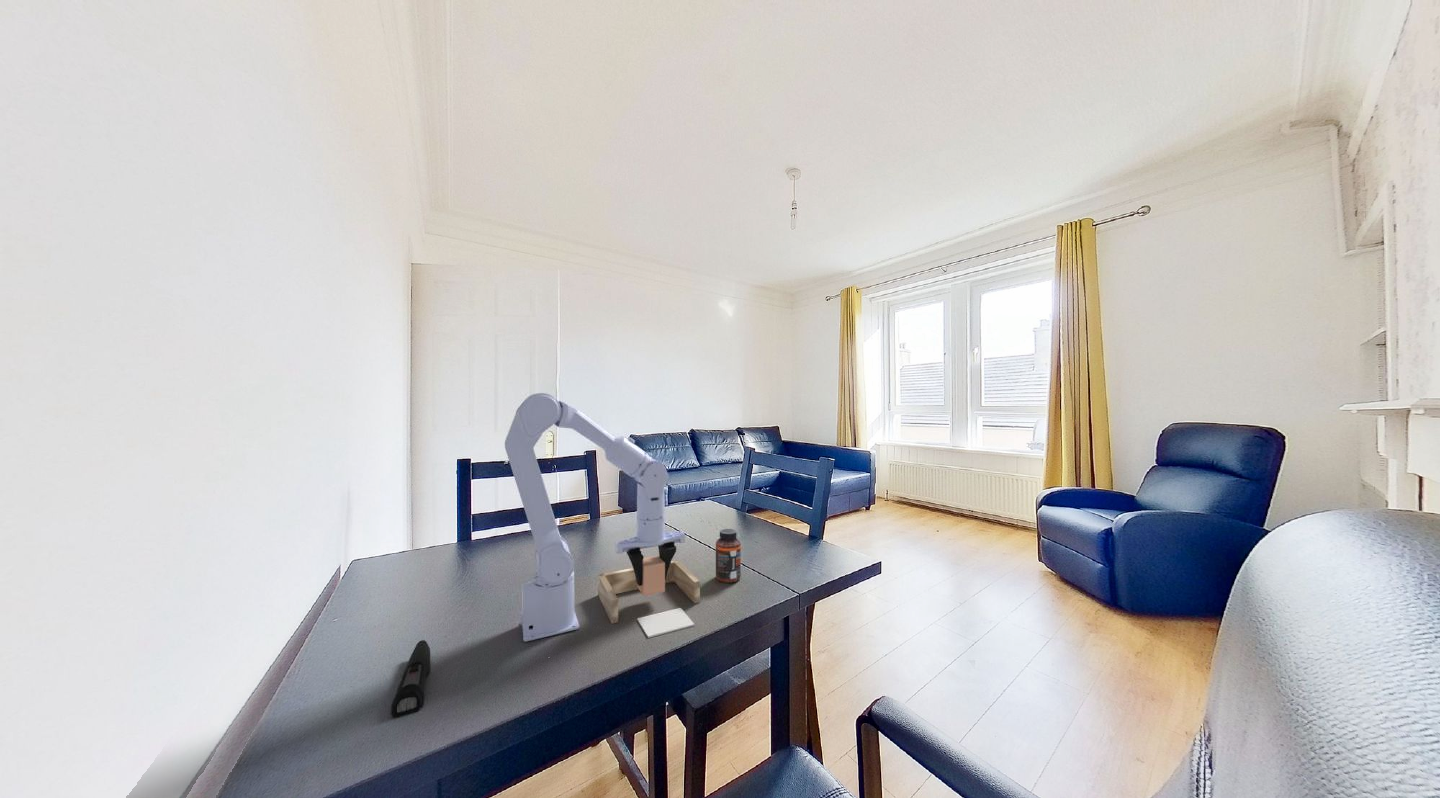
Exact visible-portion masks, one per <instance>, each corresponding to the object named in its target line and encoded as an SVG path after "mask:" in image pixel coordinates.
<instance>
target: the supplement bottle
mask: <svg viewBox="0 0 1440 798" xmlns="http://www.w3.org/2000/svg"><path fill="white" fill-rule="evenodd" d="M741 549H742V548H741V541H740V539H738V538H737V530H735V529H732V528H724V529H720V530H719V538H718V539H716V541H715V578H716V580H717V581H718V582H721V583H725V584H726V583H727V584H728V583H731V584H732V583H736V582H738V581H739V580H740V579H741V577H742V576H741V575H742V574H741V573H742V571H741V569H742V567H741V566H742V565H741V564H742V563H741V557H742V556H741V555H742V554H741V553H742V552H741Z"/></svg>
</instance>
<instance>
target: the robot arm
mask: <svg viewBox="0 0 1440 798" xmlns="http://www.w3.org/2000/svg"><path fill="white" fill-rule="evenodd" d="M553 425H554V426H556V427H557V428H563V429H572V430H574V431H575V432H576V433H578V434H580V435H581V436H583V437H584V438H586V439H587V440H589V441H590V442H592V443H594V444H595V445H597V447H600V448H601V449H602V450H604V452H605V453H604V454H605V460H607V462H609V463H611V464H612V465H613V466H615V467H616V468H618V469H619V470H620V471H622V472H623V473H625V474H626V475H628V476H629V477H631V478H632V477H633V479H634V480H635V482H637V487H636V491H637V494H636V536H632V537H629V538H626V539H623V540H619V541H617V540H616V541H614V544H615V545H614V546H615V548H614V549H615V553H616V554H617V555H621V554H623V553H624V552H625V553H626V554H627V556H628V558H629V561H630V563H631V565H632V568H633V569H634V572H635V577H636V583H637V584H638V585H639V586H642V582H643V577H642V566H643V558H645V557H644V555H643V554H642V549H647V548H648V549H649V548H654V547H657V548H658V556H659V557H660V558H661V559H662V560H663V561H664V562H665V580H666V577H667V572H668V569H669V565H670V563H671V561H672V560H673V558H674V556H675V554H676V553H677V546H676V545H675V544H677V543H679V544H684V543H686V534H685V533H684V532H683V531H681V530H680V531H670V532H669V531H667V532H666V529H665V528H666V526H665V524H666V523H665V522H666V521H665V519H666V517H665V516H666V515H665V514H666V512H665V509H666V508H665V507H666V506H665V501H666V499H665V495H666V494H665V485H666V484H667V483H668V480H669V477H670V474H669V473H668V470H667V469H666V466H665V465H664V463H663V462H661V461H658V460H656V459H654V458H653V453H651V452H649V451H647V452H646V451H644V450H643V449H642V448H641V447H639V446H638V445H636V444H635V443H636V441H635V440H634V439H633V438H632V437H626V436H623V435H622V436H617V437H614V436H613V435H611V434H610V433H609V432H607V430H605V429H604V428H602V427H601V426H600V425H598V424H597V423H596V422H594V421H593V420H592V419H591V418H589V417H588V416H587V415H585V414H584V413H583V412H581V411H580V410H579V409H577V408H575V407H573V406H572V405H569V404H568V403H566V402H564V401H561V400H558V399H557V398H556V397H555V396H554V395H552V394H549V393H547V392H538V393H537V392H536V393H533V394H531V395H529V396H527V397H526V398H525V399H524V400H523V402H522V403H521V404H520V405H519V406H518V407H517V409H516V410H515V414H514V416H513V420H512V422H511V424H510V427H509V430H508V433H507V435H506V437H505V441H504V449H505V453H506V455H507V459H508V463H509V464H510V467H511V472H512V475H513V477H514V481H515V485H516V486H517V490H518V493H519V496H520V499H521V502H522V506H523V509H524V513H525V515H526V518H527V519H526V520H527V521H528V525H529V528H530V532H531V534H532V538H533V542H534V545H535V552H534V558H535V560H536V561H535V562H536V565H537V568H536V569H537V572H535V575H534V576H533V579H532V580H529V581H527V582H524V583H521V614H520V621H519V622H520V626H521V627H522V636H523V637H522V639H523V642H529V641H534V640H538V639H542V638H546V637H550V636H551V637H552V636H554V635H559V634H563V633H564V634H565V633H567V632H571V631H575V630H578V629H580V624H579V620H578V618H577V614H576V611H575V571H574V570H575V560H574V558H573V557H574V556H573V555H572V554H571V552H570V546H569V544H568V542H567V541H566V539H565V538H563V537H562V536H561V533H560V531H559V527H558V524H557V521H556V517H555V515H554V510H553V509H552V505H551V502H550V498H549V494H548V491H547V489H546V486H545V482H544V478H543V476H542V472H541V470H540V465H539V463H538V459H537V456H536V453H535V449H534V447H535V446H536V445H537V443H538V442H539V440H540V438H541V437H542V436H543V433H544V432H546V431H547V430H549V429H550V428H551V427H552V426H553Z"/></svg>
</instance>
